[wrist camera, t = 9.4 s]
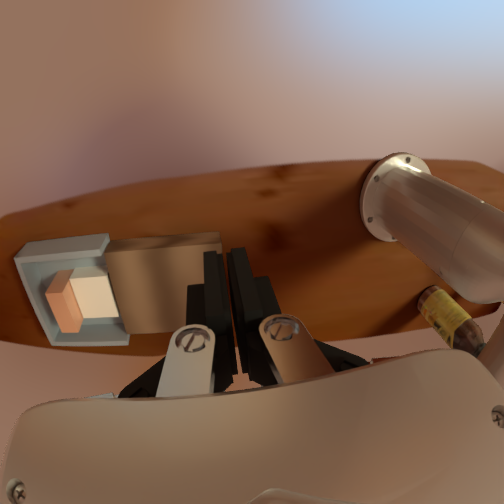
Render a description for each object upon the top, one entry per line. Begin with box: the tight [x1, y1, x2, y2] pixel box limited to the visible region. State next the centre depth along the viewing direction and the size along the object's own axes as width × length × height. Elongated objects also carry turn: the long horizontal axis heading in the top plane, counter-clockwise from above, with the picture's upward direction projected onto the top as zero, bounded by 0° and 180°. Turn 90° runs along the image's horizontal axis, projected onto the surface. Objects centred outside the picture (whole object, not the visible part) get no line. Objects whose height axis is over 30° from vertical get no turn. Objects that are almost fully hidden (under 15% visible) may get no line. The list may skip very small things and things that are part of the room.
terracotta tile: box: [45, 269, 84, 333], centre depth 31 cm, size 5×6×2 cm
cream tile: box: [69, 265, 120, 318], centre depth 33 cm, size 5×6×2 cm
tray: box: [14, 233, 130, 346], centre depth 32 cm, size 12×14×4 cm
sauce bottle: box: [417, 285, 486, 359], centre depth 40 cm, size 7×6×20 cm
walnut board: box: [104, 231, 222, 334], centre depth 35 cm, size 13×12×3 cm
